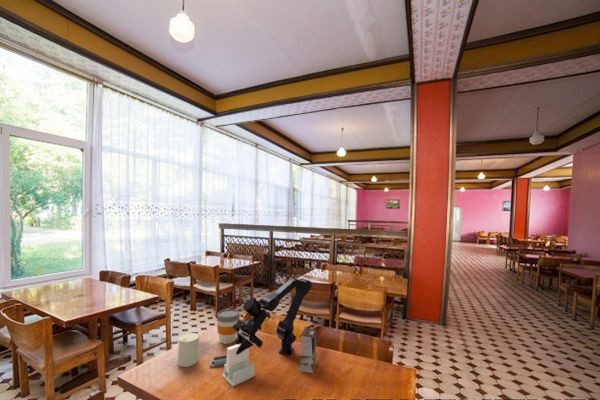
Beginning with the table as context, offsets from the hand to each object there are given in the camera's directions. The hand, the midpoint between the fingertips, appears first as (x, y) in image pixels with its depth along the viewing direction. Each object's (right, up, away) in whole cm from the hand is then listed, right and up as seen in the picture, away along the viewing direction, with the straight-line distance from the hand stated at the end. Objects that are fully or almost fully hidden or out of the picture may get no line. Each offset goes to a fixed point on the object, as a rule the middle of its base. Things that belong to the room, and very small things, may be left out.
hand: (235, 352), depth 118 cm
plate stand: (-8, -10, +9) cm, 15 cm away
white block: (+1, -7, +1) cm, 7 cm away
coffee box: (+33, -11, +7) cm, 36 cm away
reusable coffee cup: (-12, -11, +31) cm, 35 cm away
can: (-25, -10, +9) cm, 28 cm away
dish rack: (+2, -10, -1) cm, 10 cm away
